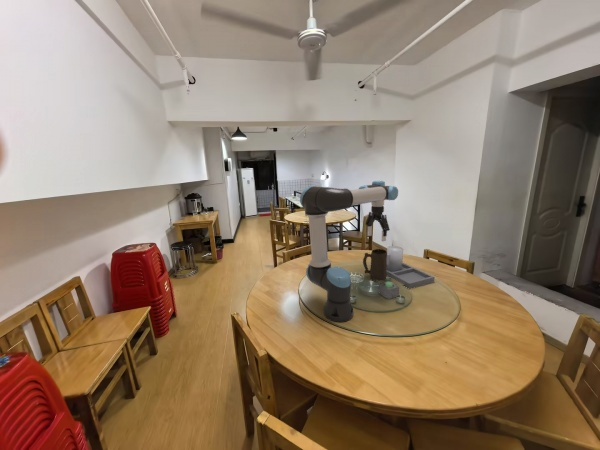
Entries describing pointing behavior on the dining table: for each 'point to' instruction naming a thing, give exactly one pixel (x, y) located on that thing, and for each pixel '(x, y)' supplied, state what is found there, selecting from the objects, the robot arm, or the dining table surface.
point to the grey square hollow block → (388, 290)
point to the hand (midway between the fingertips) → (376, 238)
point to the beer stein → (376, 264)
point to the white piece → (394, 258)
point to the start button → (389, 284)
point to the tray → (411, 276)
